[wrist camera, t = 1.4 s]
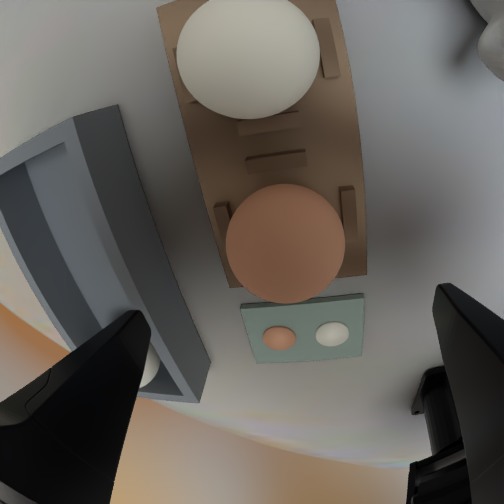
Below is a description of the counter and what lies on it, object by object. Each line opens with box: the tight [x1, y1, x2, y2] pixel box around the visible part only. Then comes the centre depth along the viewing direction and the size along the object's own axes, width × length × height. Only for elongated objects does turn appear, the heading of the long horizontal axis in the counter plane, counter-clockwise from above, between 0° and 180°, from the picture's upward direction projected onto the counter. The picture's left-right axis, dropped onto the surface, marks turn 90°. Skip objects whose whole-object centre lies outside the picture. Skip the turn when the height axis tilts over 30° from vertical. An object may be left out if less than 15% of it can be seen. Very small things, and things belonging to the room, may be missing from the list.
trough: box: [0, 105, 211, 403], centre depth 16 cm, size 18×8×4 cm, turn 11°
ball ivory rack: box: [176, 0, 320, 119], centre depth 8 cm, size 4×4×4 cm
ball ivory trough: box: [104, 327, 160, 388], centre depth 18 cm, size 4×4×4 cm
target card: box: [240, 294, 364, 364], centre depth 18 cm, size 5×7×1 cm
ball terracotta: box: [226, 184, 345, 304], centre depth 12 cm, size 4×4×4 cm
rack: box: [156, 0, 367, 288], centre depth 12 cm, size 14×7×2 cm, turn 11°
